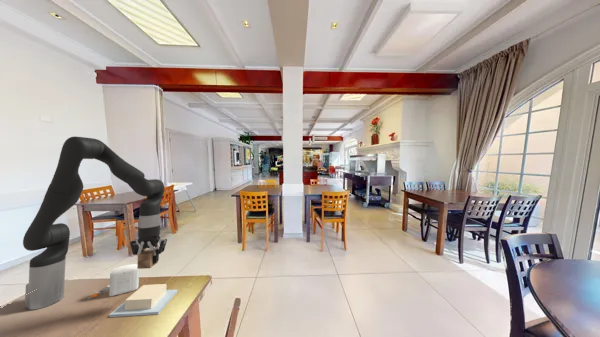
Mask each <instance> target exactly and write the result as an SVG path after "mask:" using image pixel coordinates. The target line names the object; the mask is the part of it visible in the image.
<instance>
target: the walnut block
mask: <svg viewBox="0 0 600 337" xmlns="http://www.w3.org/2000/svg"><path fill="white" fill-rule="evenodd" d="M153 256H154V255H153V253H152V251H151V250H150V249H149V248H146V249H145V251H143V252H142V253H140V254H138V256H137V264H138V265H137V269H139V270H140V269H142V270H143V269H152V267H153V266H155V265H157V264H158V263H159V260H158V261H157V263H155V264H153Z"/></svg>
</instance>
